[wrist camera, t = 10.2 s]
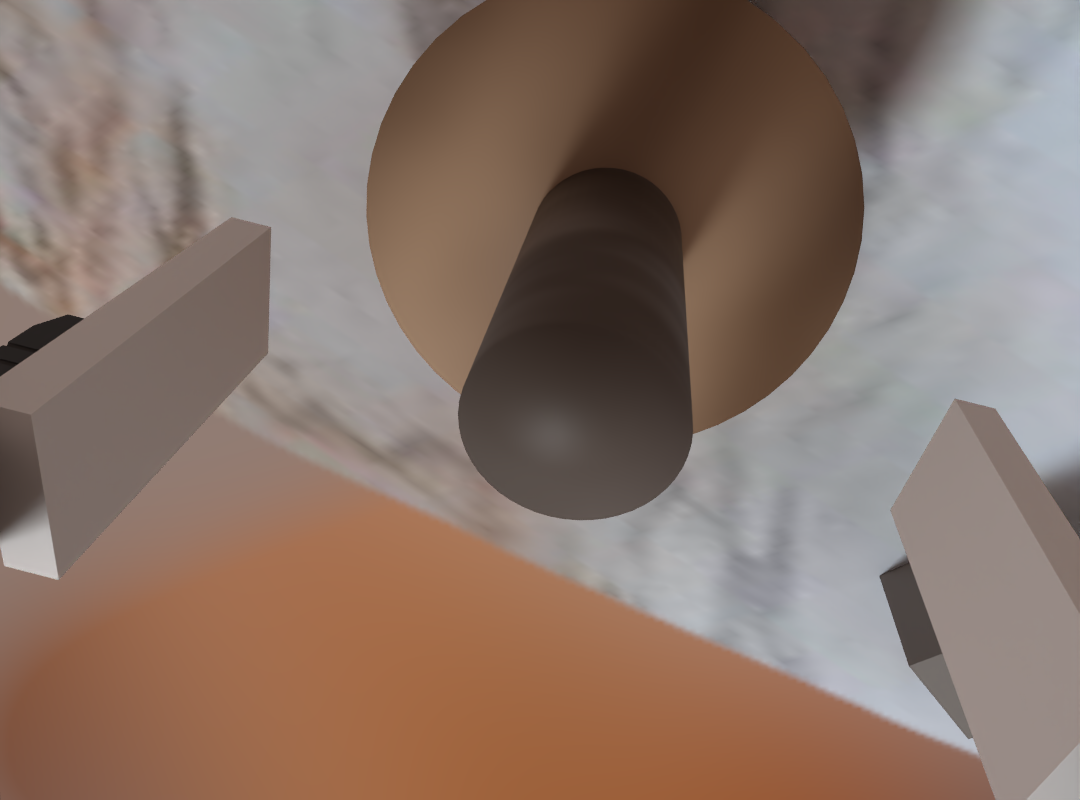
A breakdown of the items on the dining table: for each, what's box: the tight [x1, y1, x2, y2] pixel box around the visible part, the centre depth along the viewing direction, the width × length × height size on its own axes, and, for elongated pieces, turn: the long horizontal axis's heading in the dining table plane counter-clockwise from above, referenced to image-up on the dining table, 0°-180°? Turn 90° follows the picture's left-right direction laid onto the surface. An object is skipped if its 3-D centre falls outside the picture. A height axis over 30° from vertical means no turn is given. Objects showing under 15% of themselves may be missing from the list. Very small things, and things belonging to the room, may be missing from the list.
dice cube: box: [880, 563, 973, 739], centre depth 33 cm, size 5×5×5 cm
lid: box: [367, 0, 864, 520], centre depth 18 cm, size 13×13×10 cm
